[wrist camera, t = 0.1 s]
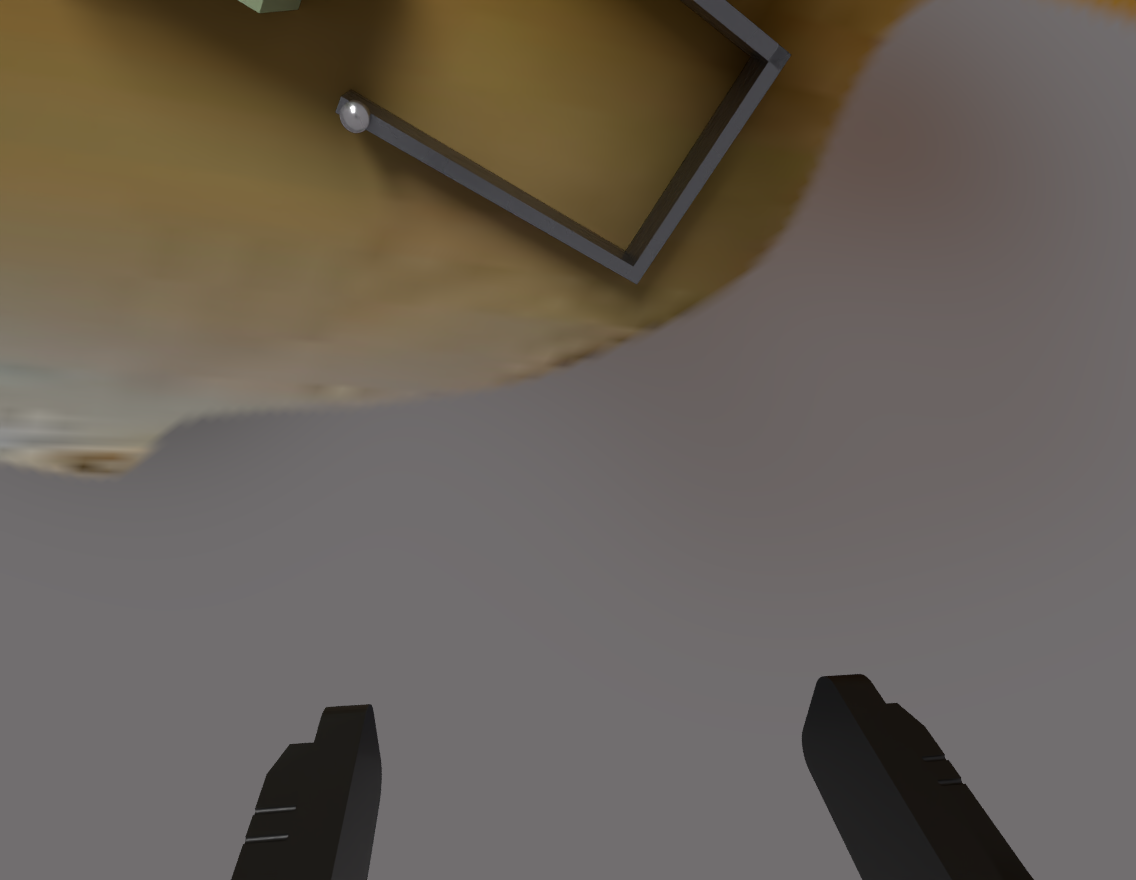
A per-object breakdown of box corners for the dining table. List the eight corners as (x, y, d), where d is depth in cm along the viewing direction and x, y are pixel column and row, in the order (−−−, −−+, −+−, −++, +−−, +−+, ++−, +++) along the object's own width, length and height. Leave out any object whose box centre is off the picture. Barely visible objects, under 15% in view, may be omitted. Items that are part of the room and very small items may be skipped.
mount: (462, -213, 20) (459, -236, 18) (775, 45, 25) (801, 50, 23) (343, 109, 25) (330, 120, 23) (626, 272, 30) (636, 293, 28)
